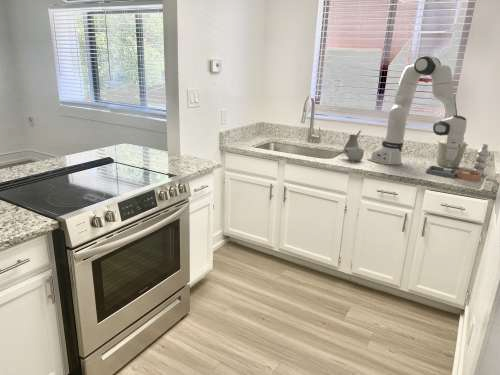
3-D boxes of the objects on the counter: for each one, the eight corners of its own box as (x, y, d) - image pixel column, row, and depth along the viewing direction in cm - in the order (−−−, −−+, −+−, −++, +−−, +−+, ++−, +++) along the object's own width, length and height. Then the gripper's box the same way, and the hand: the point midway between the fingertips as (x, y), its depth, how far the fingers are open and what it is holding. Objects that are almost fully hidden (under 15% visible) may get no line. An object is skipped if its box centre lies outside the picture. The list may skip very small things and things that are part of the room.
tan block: (461, 176, 231) (462, 171, 230) (468, 177, 229) (470, 172, 228) (460, 177, 228) (461, 172, 227) (467, 179, 226) (469, 174, 225)
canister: (463, 166, 258) (470, 136, 251) (460, 172, 244) (468, 139, 237) (435, 161, 268) (441, 132, 261) (430, 166, 253) (436, 135, 246)
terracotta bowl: (455, 179, 226) (457, 172, 225) (458, 175, 236) (460, 168, 234) (478, 184, 220) (480, 176, 218) (480, 179, 229) (482, 172, 228)
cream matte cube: (442, 174, 234) (443, 169, 233) (443, 172, 237) (444, 167, 236) (450, 175, 231) (451, 170, 230) (451, 174, 234) (452, 169, 233)
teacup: (365, 160, 260) (367, 149, 258) (358, 163, 253) (359, 151, 250) (347, 156, 269) (348, 145, 267) (339, 159, 261) (341, 147, 259)
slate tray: (425, 174, 235) (426, 169, 234) (430, 169, 245) (431, 165, 244) (453, 179, 226) (454, 174, 225) (456, 174, 237) (457, 170, 236)
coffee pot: (356, 155, 275) (359, 134, 270) (341, 152, 280) (343, 132, 276) (365, 150, 291) (368, 131, 287) (351, 148, 297) (353, 129, 293)
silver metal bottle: (470, 176, 235) (478, 144, 229) (471, 174, 240) (479, 143, 234) (482, 178, 232) (490, 146, 225) (483, 176, 237) (491, 144, 231)
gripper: (451, 139, 237) (447, 161, 242) (446, 144, 221) (441, 167, 226) (462, 141, 234) (458, 162, 238) (458, 146, 218) (453, 169, 222)
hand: (450, 165), depth 232 cm, fingers open, 8 cm apart
